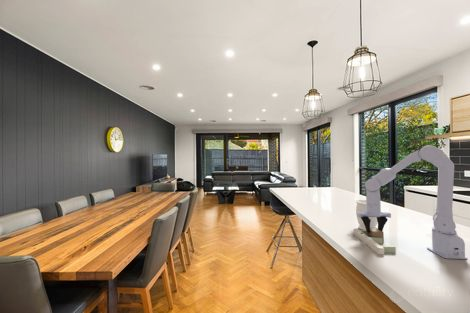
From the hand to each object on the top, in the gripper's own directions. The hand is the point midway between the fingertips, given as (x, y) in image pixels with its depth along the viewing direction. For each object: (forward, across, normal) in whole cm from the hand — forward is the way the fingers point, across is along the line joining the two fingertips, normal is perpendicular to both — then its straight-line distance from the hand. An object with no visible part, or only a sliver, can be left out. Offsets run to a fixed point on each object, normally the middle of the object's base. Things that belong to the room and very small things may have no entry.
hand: (374, 232), depth 104 cm
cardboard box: (+4, 0, 0) cm, 4 cm away
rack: (+3, +3, +5) cm, 6 cm away
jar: (+4, -4, -15) cm, 16 cm away
